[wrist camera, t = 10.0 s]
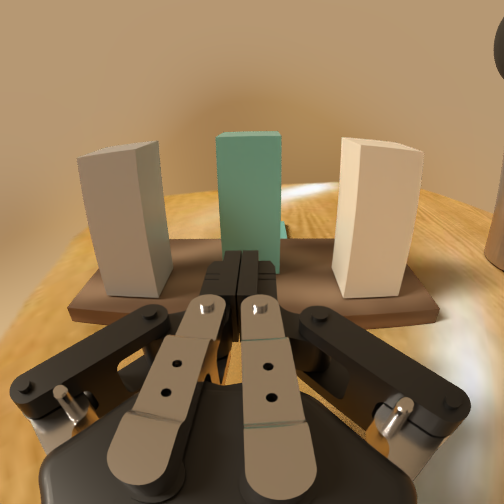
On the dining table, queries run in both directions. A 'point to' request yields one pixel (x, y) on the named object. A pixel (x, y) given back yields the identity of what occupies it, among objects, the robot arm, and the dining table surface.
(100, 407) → the robot arm
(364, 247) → the cream tall rectangular block
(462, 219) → the dining table surface
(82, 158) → the tall grey rectangular prism
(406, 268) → the dark wooden board
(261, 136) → the tall teal pillar
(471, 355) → the dining table surface
